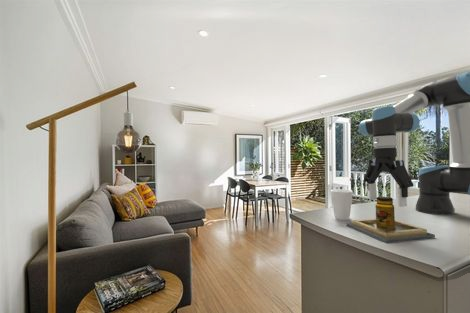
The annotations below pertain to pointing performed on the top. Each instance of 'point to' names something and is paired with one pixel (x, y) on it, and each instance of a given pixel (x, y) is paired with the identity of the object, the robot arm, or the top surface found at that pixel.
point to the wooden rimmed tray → (402, 234)
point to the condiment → (385, 214)
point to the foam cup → (342, 203)
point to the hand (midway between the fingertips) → (386, 202)
